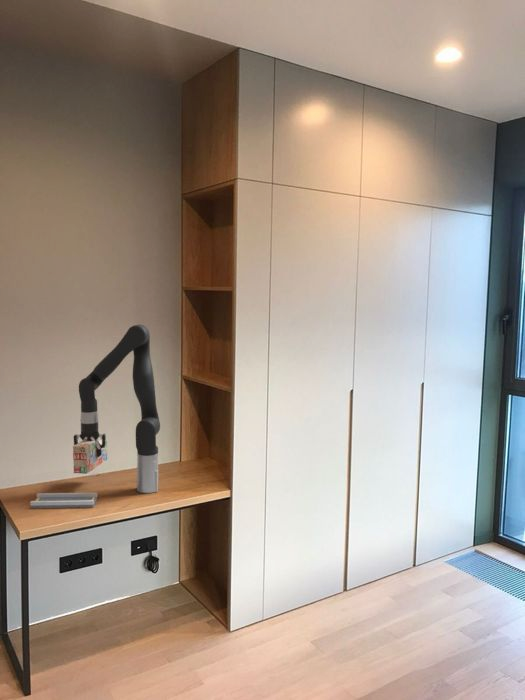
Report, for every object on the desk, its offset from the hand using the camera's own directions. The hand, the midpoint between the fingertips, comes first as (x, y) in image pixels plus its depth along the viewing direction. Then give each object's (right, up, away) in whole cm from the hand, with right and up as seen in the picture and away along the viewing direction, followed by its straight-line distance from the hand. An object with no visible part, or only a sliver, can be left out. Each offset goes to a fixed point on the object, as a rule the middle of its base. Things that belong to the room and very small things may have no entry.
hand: (90, 456), depth 255 cm
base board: (-5, -16, -17) cm, 24 cm away
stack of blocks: (0, -5, +1) cm, 5 cm away
